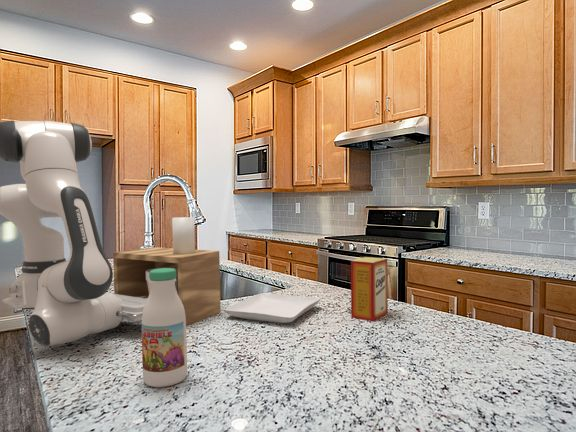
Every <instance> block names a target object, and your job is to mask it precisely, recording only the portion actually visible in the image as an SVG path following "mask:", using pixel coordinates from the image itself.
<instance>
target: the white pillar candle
mask: <svg viewBox="0 0 576 432" xmlns="http://www.w3.org/2000/svg"><path fill="white" fill-rule="evenodd" d="M171 222H172V225H171V226H172V228H171V229H172V248H173V254H193V253H195V250H196V242H195V241H196V238H195V237H196V235H195V231H196V230H195V228H196V227H195V217H193V216H189V217H188V216H181V217H179V216H178V217H176V216H175V217H172V219H171Z"/></svg>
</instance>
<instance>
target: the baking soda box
mask: <svg viewBox="0 0 576 432" xmlns="http://www.w3.org/2000/svg"><path fill="white" fill-rule="evenodd" d="M388 303H389V302H388V258H385V257H384V258H383V257H372V256H364V257H358V258H355V259H352V260H350V309H351V310H350V311H351V313H350V318H351V319H356V320H357V319H358V320H363V321H368V322H373V323H374V322H375V321H377V320H379V319H381V318H382V317H384V316H385V315H387V314H388V311H389V310H388Z"/></svg>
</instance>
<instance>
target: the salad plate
mask: <svg viewBox="0 0 576 432" xmlns="http://www.w3.org/2000/svg"><path fill="white" fill-rule="evenodd" d="M321 300H322V299H321V297H313V296H305V295H304V296H301V295H294V294H293V295H292V294H280V293H279V294H277V293H276V294H275V293H262V292H261V293H257V294H255V295H253V296H250V297H247V298H245V299H243V300H241V301H239V302H237V303H234V304H232V305H230V306H228V307H227V308H225V309H224V311H225V312H226V313H227V314H229V315H230V316H232V317H235V318H239V319H244V320H245V319H246V320H250V321H251V320H252V321H259V322H266V323H267V322H268V323H273V324H274V323H275V324H288V323H292V322H294V321H295V320H296V319H297V318H299V317H300V316H302V315H303V314H305V313H306V312H308V311H309V310H311V309H312V308H314V307H315V306H316V305H318V304H319V302H320V301H321Z"/></svg>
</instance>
